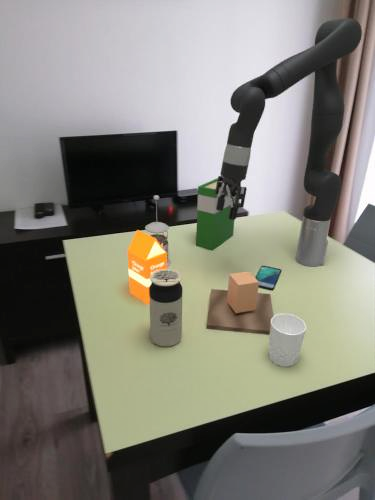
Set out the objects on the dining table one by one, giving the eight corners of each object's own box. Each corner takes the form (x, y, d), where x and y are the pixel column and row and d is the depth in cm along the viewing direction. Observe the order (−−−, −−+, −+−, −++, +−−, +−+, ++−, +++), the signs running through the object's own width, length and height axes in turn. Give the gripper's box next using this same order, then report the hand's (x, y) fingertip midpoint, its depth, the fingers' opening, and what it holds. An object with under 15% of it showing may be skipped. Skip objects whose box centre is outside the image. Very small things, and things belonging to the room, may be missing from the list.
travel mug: (152, 326, 97) (150, 267, 89) (182, 327, 96) (183, 268, 89) (148, 346, 89) (146, 284, 82) (180, 348, 89) (181, 285, 81)
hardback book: (217, 231, 156) (221, 176, 145) (233, 235, 152) (237, 179, 142) (196, 245, 142) (198, 186, 132) (212, 250, 139) (215, 190, 128)
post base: (269, 297, 111) (274, 268, 106) (275, 335, 94) (280, 302, 90) (211, 292, 112) (212, 263, 108) (206, 328, 96) (208, 296, 92)
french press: (138, 266, 126) (135, 197, 115) (153, 252, 136) (152, 188, 125) (164, 272, 123) (163, 201, 112) (177, 257, 133) (178, 191, 122)
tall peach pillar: (245, 298, 106) (248, 271, 102) (255, 309, 101) (258, 281, 97) (227, 301, 104) (229, 274, 100) (235, 313, 99) (238, 285, 95)
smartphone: (251, 285, 116) (261, 264, 129) (250, 287, 116) (261, 266, 129) (273, 290, 114) (282, 269, 126) (273, 292, 114) (281, 271, 126)
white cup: (262, 346, 90) (266, 313, 86) (292, 345, 91) (298, 312, 87) (271, 369, 83) (276, 335, 79) (304, 368, 84) (311, 334, 80)
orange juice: (149, 283, 116) (147, 226, 107) (167, 295, 111) (167, 235, 102) (129, 292, 111) (125, 233, 102) (147, 305, 106) (145, 242, 97)
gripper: (259, 167, 100) (247, 222, 106) (235, 157, 112) (225, 207, 118) (236, 165, 97) (224, 222, 104) (213, 155, 109) (205, 207, 115)
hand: (225, 214), depth 111 cm, fingers open, 8 cm apart
